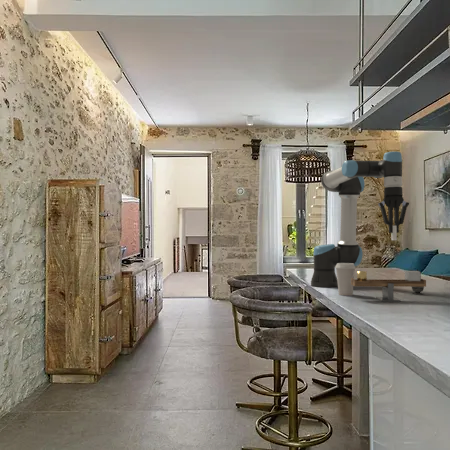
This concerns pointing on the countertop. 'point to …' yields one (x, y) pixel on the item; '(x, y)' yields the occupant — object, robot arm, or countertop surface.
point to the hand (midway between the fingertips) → (393, 240)
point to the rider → (412, 276)
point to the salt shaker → (417, 289)
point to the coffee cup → (345, 278)
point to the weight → (361, 275)
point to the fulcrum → (388, 294)
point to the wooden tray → (385, 282)
